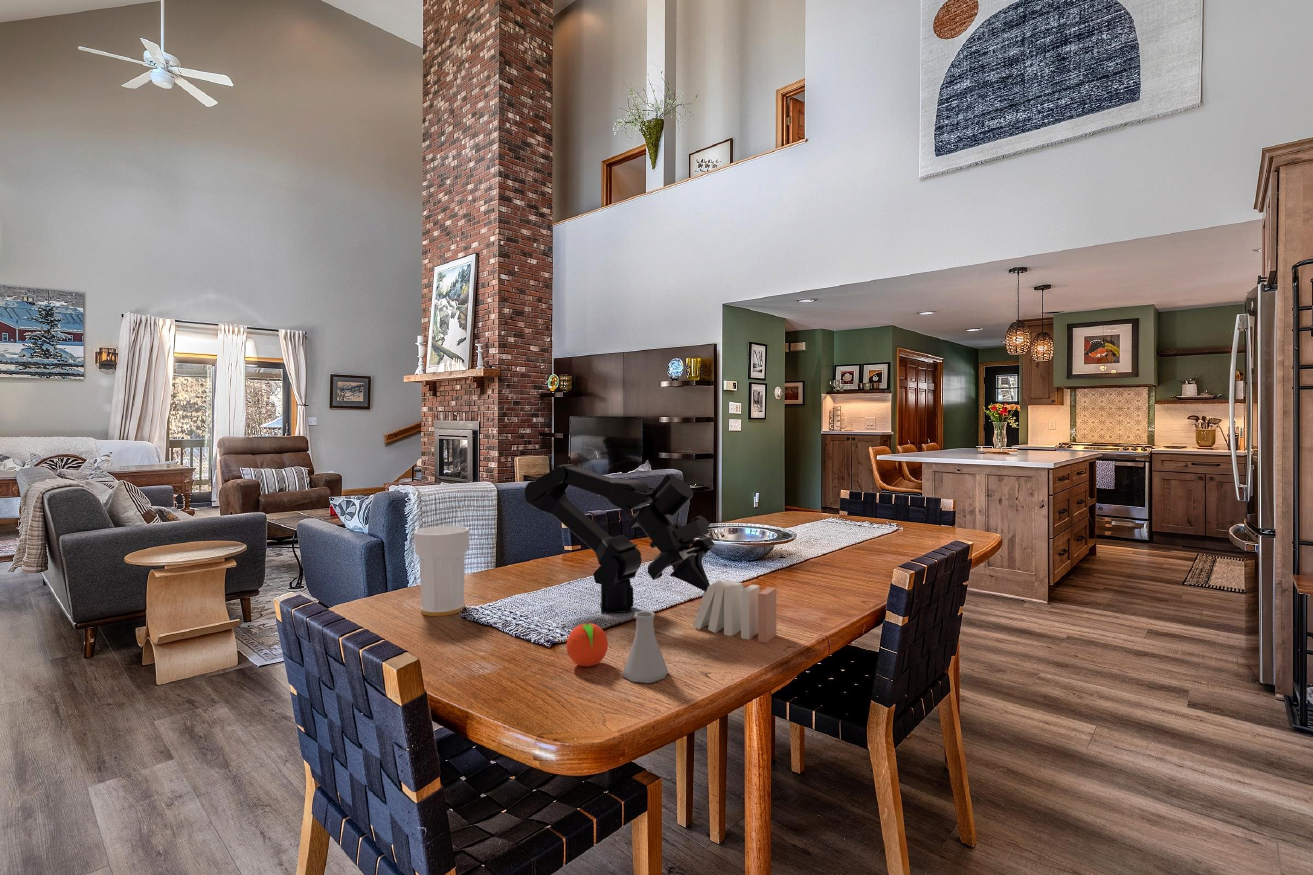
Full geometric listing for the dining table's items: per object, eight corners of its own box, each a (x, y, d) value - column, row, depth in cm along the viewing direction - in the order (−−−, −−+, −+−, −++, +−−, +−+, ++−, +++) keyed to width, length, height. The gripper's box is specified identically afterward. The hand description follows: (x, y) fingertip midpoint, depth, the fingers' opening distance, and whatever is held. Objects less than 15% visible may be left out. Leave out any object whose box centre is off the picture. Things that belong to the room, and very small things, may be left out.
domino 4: (741, 637, 120) (741, 590, 119) (751, 630, 124) (751, 584, 124) (748, 639, 119) (749, 591, 119) (759, 631, 123) (759, 585, 123)
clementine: (613, 672, 104) (613, 629, 103) (571, 678, 102) (570, 633, 101) (603, 655, 111) (603, 615, 111) (563, 659, 109) (563, 618, 109)
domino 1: (692, 625, 125) (708, 585, 123) (704, 618, 129) (719, 580, 127) (699, 629, 124) (715, 590, 122) (710, 622, 129) (726, 584, 126)
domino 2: (708, 629, 123) (716, 585, 122) (719, 622, 128) (727, 580, 126) (715, 632, 123) (723, 588, 121) (726, 625, 127) (734, 582, 126)
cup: (469, 600, 145) (468, 524, 144) (471, 614, 134) (470, 532, 134) (416, 605, 141) (415, 527, 141) (414, 620, 131) (412, 536, 130)
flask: (652, 688, 98) (651, 623, 97) (613, 678, 102) (613, 616, 101) (675, 672, 104) (675, 611, 103) (638, 663, 108) (638, 604, 107)
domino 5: (758, 641, 118) (758, 593, 118) (768, 633, 122) (768, 586, 122) (766, 642, 117) (766, 594, 117) (776, 634, 121) (776, 588, 121)
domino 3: (724, 634, 122) (724, 587, 121) (735, 627, 126) (735, 582, 125) (731, 636, 121) (731, 589, 120) (742, 628, 125) (742, 583, 125)
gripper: (660, 510, 120) (713, 575, 115) (706, 499, 136) (754, 555, 131) (626, 547, 125) (675, 611, 119) (674, 532, 141) (720, 588, 135)
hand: (708, 590), depth 126 cm, fingers closed
